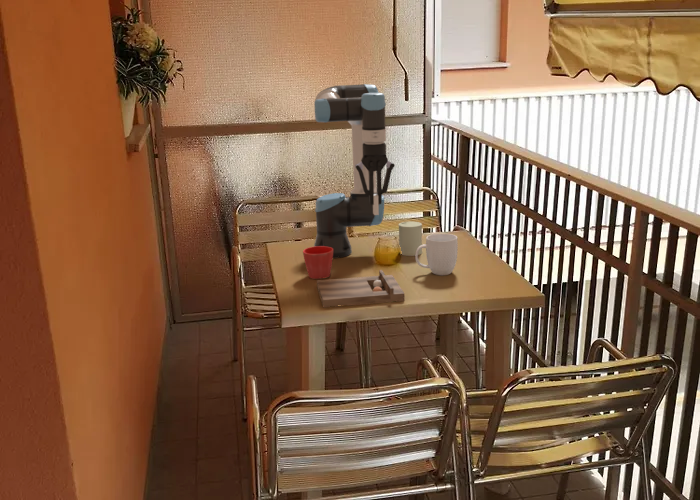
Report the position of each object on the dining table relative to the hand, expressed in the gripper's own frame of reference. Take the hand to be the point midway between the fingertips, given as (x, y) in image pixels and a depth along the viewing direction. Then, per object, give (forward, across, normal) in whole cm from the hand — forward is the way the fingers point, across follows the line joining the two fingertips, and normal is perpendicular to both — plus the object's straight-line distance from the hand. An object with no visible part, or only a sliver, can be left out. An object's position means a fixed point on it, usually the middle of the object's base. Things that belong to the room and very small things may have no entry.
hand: (375, 213), depth 238 cm
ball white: (+23, 0, -4) cm, 24 cm away
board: (+25, -7, -7) cm, 27 cm away
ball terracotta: (+23, -2, -11) cm, 26 cm away
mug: (+26, +24, +10) cm, 36 cm away
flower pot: (+26, -19, +16) cm, 35 cm away
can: (+26, +19, +38) cm, 50 cm away
